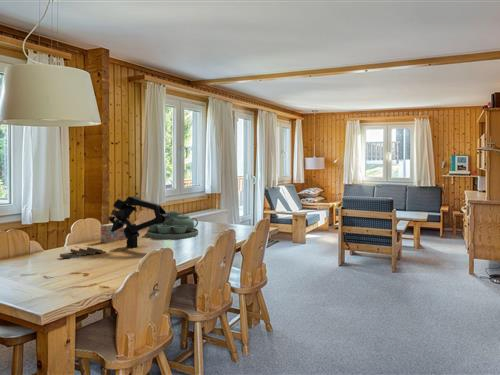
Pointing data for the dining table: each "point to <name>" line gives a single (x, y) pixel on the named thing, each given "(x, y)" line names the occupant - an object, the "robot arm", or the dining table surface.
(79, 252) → the domino
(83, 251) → the domino
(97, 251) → the domino
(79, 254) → the end domino
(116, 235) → the stack of blocks
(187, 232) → the tea set
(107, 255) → the dining table surface
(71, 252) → the domino
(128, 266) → the dining table surface
